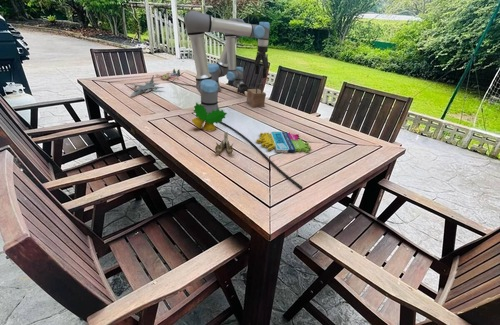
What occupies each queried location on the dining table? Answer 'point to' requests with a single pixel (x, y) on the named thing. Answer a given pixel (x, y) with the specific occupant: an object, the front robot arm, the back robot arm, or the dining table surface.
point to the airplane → (145, 87)
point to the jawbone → (224, 145)
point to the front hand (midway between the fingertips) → (260, 76)
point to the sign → (283, 142)
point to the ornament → (207, 117)
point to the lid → (257, 90)
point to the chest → (255, 100)
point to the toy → (170, 75)
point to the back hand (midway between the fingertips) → (251, 93)
